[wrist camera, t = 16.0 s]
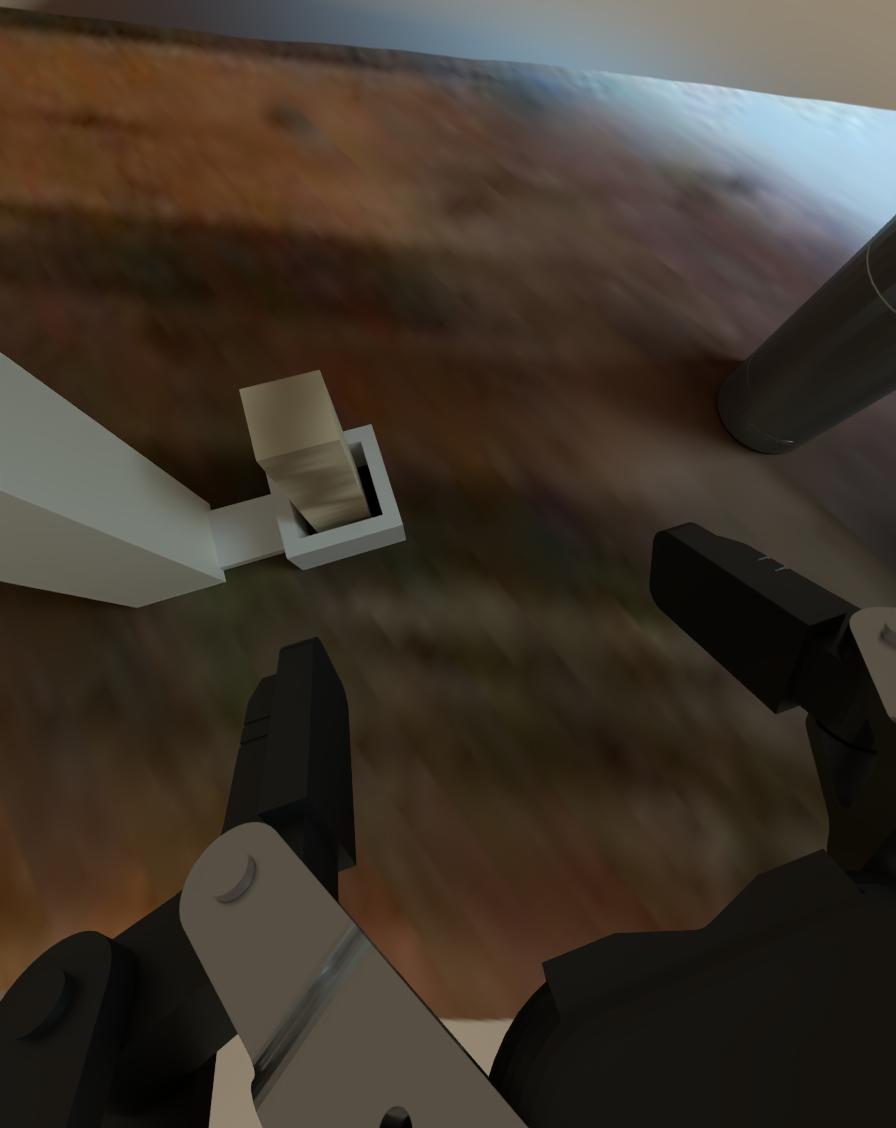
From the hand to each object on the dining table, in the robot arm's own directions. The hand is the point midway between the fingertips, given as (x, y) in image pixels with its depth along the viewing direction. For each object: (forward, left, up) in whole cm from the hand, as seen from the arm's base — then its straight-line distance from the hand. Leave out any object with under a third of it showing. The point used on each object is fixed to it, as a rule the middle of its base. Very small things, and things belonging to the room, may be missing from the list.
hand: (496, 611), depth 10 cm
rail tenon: (-6, -14, -25) cm, 29 cm away
